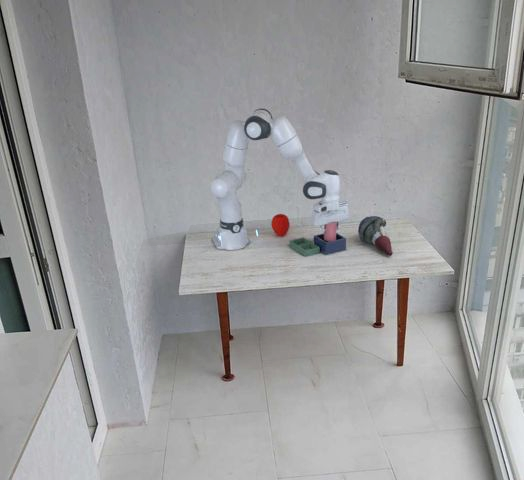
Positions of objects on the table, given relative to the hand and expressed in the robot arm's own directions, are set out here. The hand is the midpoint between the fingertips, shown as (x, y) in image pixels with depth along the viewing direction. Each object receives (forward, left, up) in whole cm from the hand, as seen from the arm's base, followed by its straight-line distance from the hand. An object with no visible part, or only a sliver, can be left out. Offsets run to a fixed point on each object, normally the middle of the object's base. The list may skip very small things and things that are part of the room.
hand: (330, 231), depth 285 cm
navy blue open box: (0, 0, -10) cm, 10 cm away
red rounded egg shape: (-30, -13, -10) cm, 34 cm away
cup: (0, 0, -5) cm, 4 cm away
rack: (-6, -12, -10) cm, 16 cm away
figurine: (+11, +25, -10) cm, 29 cm away
